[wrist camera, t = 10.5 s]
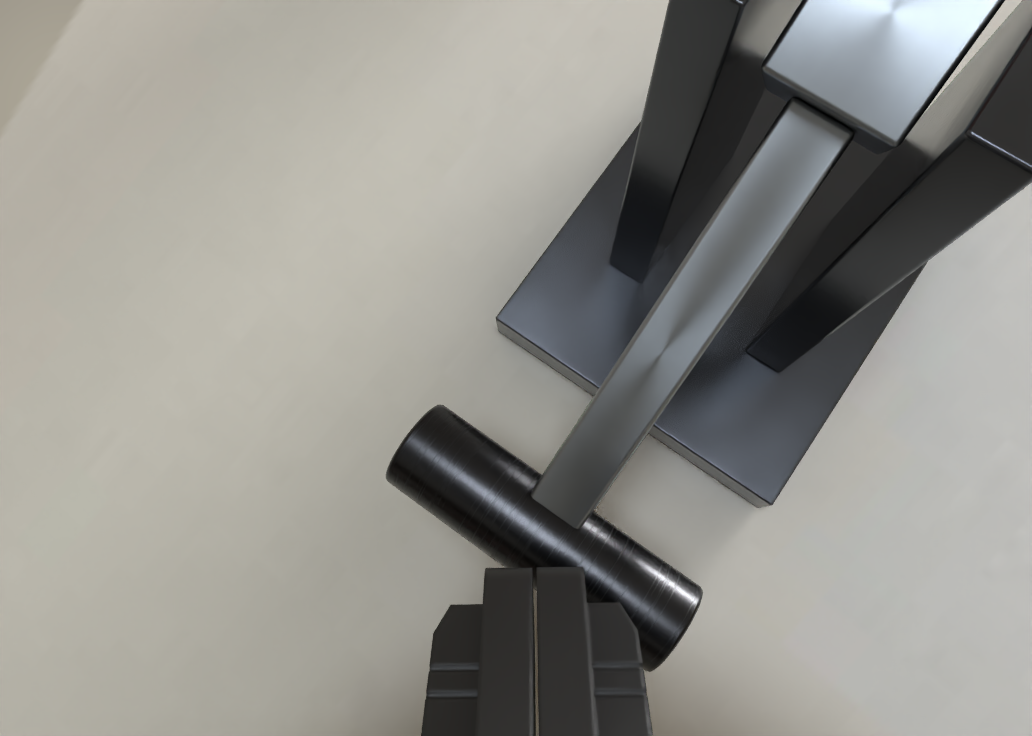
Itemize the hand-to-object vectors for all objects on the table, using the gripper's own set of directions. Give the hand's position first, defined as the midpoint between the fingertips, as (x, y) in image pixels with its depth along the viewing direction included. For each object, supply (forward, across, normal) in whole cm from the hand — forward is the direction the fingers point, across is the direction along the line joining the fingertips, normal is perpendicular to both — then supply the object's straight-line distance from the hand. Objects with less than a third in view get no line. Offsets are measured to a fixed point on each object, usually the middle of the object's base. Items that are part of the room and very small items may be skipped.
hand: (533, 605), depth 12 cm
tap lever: (+5, -3, -3) cm, 6 cm away
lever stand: (+11, -5, 0) cm, 12 cm away
